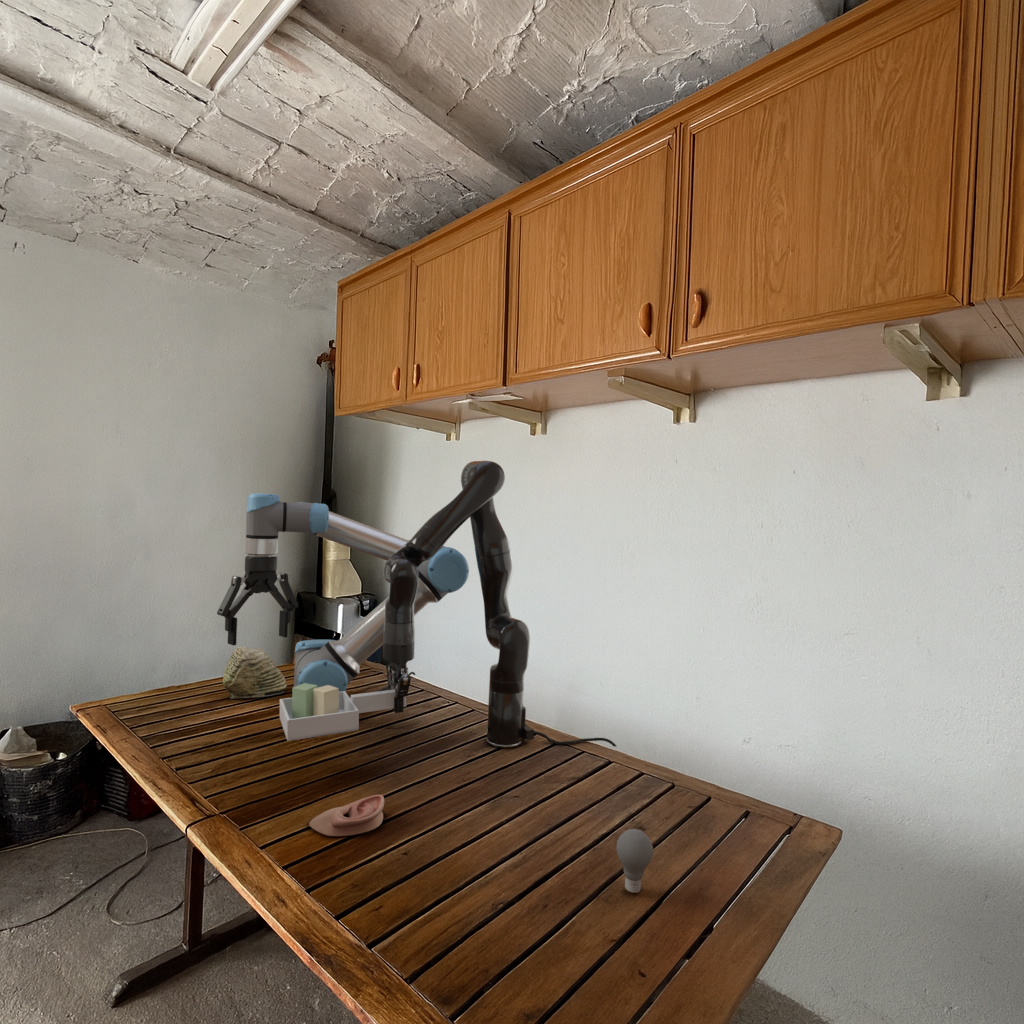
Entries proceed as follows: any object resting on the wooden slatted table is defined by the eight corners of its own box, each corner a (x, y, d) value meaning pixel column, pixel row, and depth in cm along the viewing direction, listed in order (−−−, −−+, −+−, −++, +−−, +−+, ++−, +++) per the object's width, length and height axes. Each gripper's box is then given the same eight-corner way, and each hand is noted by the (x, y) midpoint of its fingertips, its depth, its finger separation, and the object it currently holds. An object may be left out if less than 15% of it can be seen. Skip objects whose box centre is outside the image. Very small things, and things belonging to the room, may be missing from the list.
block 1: (304, 716, 149) (304, 682, 149) (317, 719, 147) (318, 685, 147) (292, 722, 145) (292, 687, 145) (305, 724, 144) (305, 690, 143)
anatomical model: (301, 810, 119) (330, 784, 130) (300, 831, 119) (330, 803, 131) (367, 821, 117) (391, 793, 128) (366, 842, 117) (390, 813, 128)
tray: (287, 741, 135) (287, 715, 135) (279, 717, 149) (279, 694, 149) (414, 721, 148) (414, 698, 148) (396, 701, 162) (396, 680, 161)
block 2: (327, 718, 148) (328, 684, 148) (338, 722, 145) (338, 688, 145) (313, 723, 145) (313, 688, 144) (323, 727, 142) (324, 692, 142)
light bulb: (610, 879, 108) (613, 822, 108) (644, 879, 109) (647, 822, 109) (619, 902, 102) (622, 840, 102) (655, 901, 103) (658, 840, 103)
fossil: (218, 695, 195) (220, 647, 195) (278, 685, 208) (279, 640, 207) (228, 703, 189) (230, 653, 188) (289, 692, 201) (290, 645, 201)
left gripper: (297, 552, 170) (294, 631, 170) (203, 556, 150) (200, 645, 150) (313, 554, 165) (310, 635, 165) (219, 558, 145) (216, 650, 146)
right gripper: (376, 634, 158) (374, 703, 158) (391, 647, 145) (389, 722, 146) (405, 632, 161) (404, 700, 162) (422, 644, 149) (420, 718, 149)
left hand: (258, 640), depth 158 cm, fingers open, 13 cm apart
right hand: (397, 710), depth 154 cm, fingers closed on tray
